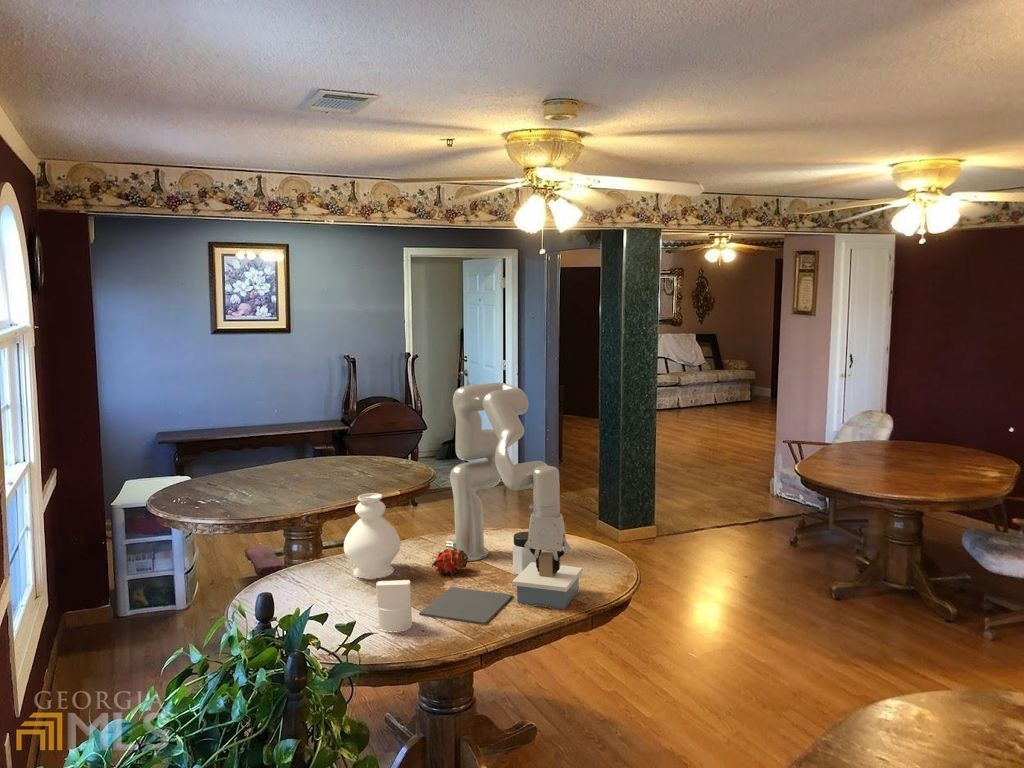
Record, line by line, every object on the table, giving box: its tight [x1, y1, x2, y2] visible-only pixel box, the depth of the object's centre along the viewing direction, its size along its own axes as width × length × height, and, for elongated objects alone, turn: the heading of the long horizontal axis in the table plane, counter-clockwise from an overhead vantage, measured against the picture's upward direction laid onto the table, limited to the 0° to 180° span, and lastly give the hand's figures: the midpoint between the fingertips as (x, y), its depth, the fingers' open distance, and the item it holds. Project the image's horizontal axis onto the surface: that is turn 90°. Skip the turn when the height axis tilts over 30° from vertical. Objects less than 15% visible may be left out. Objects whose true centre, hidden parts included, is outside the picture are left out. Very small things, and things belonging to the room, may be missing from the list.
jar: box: [512, 531, 536, 576], centre depth 248 cm, size 9×8×12 cm
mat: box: [418, 586, 514, 626], centre depth 224 cm, size 20×20×1 cm
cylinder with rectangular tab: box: [375, 579, 413, 633], centre depth 211 cm, size 9×9×12 cm
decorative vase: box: [343, 492, 401, 580], centre depth 251 cm, size 18×18×25 cm
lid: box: [511, 550, 583, 592], centre depth 227 cm, size 16×16×7 cm
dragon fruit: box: [431, 548, 468, 576], centre depth 250 cm, size 8×8×12 cm
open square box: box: [516, 576, 580, 610], centre depth 228 cm, size 14×14×6 cm
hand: (548, 570), depth 228 cm, fingers closed on lid, 4 cm apart
